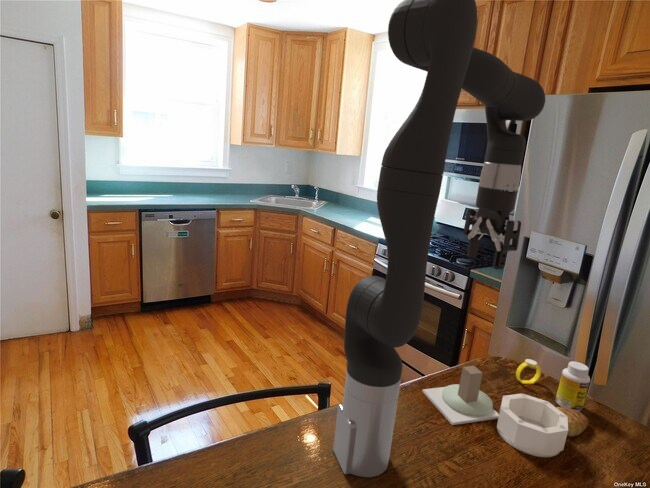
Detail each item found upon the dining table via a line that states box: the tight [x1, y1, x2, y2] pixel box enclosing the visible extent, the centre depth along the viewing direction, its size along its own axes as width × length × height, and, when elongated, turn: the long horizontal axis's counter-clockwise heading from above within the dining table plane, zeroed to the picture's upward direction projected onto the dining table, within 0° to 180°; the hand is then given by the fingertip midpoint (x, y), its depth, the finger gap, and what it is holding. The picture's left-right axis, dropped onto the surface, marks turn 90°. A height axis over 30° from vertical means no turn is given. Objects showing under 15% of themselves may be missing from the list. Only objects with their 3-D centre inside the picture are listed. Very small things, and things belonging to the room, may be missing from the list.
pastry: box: [555, 406, 589, 437], centre depth 91 cm, size 9×7×4 cm
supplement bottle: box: [555, 360, 591, 412], centre depth 98 cm, size 6×6×10 cm
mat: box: [422, 386, 499, 426], centre depth 95 cm, size 12×12×1 cm
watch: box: [515, 358, 542, 385], centre depth 106 cm, size 6×3×6 cm, turn 99°
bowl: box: [496, 393, 568, 458], centre depth 86 cm, size 12×12×6 cm
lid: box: [442, 365, 494, 416], centre depth 95 cm, size 11×11×8 cm
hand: (484, 262), depth 91 cm, fingers open, 8 cm apart
